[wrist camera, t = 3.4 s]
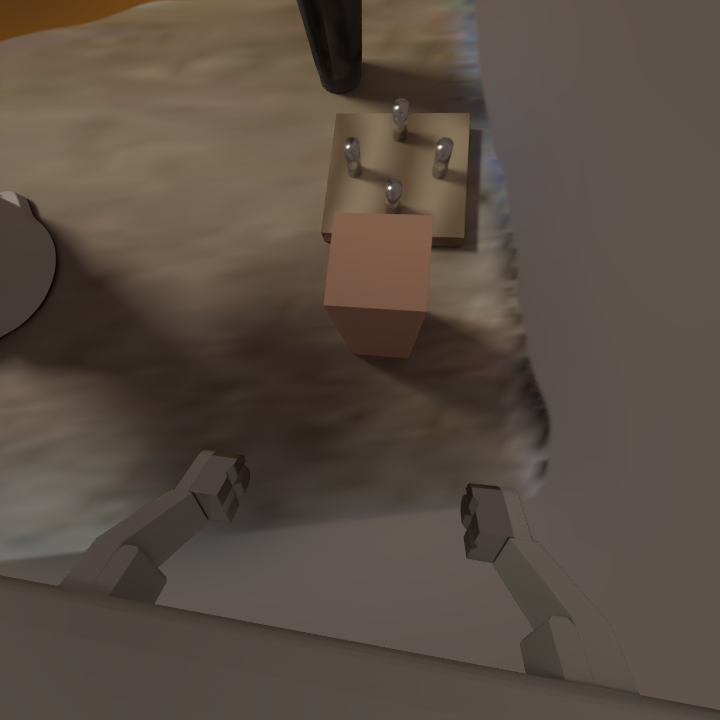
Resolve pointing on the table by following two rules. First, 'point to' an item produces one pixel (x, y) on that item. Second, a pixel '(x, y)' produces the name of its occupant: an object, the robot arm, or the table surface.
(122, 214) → the table surface
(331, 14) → the beverage cup
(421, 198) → the pin plate
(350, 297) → the terracotta post
